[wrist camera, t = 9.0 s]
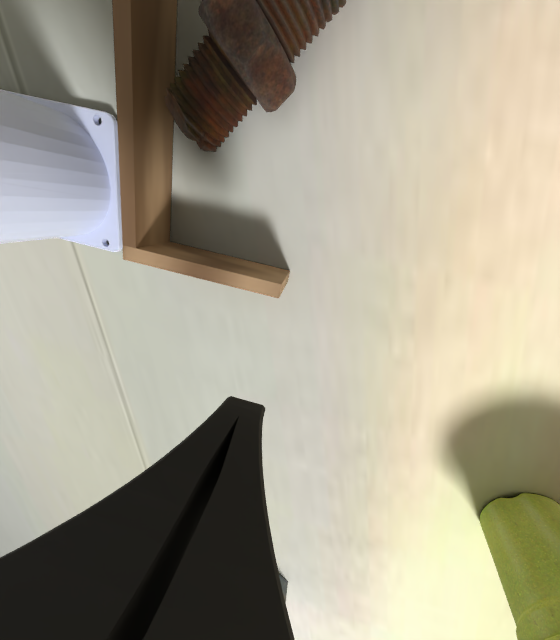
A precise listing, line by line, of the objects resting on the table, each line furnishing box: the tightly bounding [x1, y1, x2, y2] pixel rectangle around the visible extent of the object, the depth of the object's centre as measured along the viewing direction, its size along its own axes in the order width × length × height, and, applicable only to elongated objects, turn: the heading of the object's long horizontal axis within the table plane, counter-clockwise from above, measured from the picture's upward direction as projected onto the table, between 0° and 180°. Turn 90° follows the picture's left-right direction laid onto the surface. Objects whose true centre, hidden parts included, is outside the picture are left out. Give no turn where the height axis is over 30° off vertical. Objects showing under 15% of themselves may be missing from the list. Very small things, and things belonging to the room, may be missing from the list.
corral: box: [112, 0, 290, 298], centre depth 12 cm, size 9×21×4 cm, turn 168°
